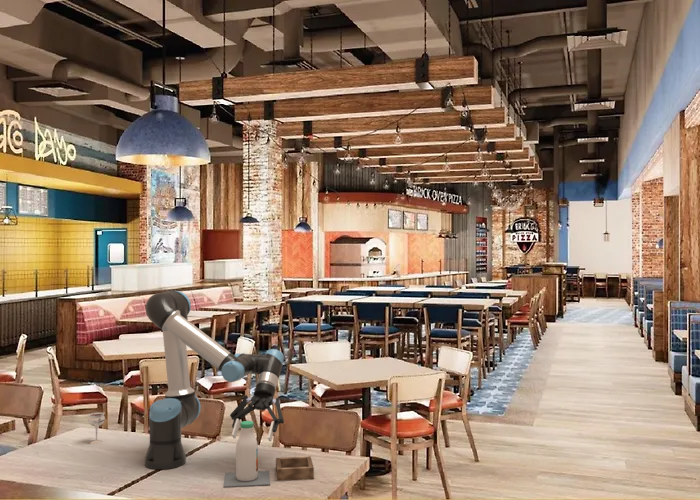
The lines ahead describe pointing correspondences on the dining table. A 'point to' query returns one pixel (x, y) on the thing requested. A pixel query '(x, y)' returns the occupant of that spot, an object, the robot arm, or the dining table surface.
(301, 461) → the walnut collar
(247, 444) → the milk bottle
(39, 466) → the dining table surface
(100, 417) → the wineglass
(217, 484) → the dining table surface
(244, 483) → the slate mat
